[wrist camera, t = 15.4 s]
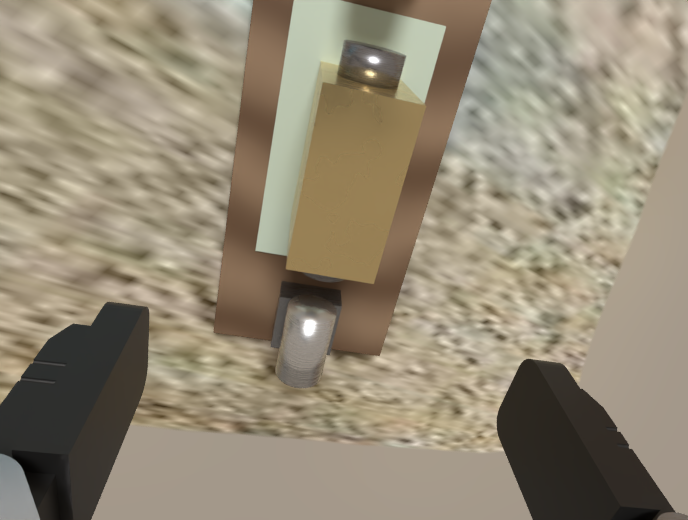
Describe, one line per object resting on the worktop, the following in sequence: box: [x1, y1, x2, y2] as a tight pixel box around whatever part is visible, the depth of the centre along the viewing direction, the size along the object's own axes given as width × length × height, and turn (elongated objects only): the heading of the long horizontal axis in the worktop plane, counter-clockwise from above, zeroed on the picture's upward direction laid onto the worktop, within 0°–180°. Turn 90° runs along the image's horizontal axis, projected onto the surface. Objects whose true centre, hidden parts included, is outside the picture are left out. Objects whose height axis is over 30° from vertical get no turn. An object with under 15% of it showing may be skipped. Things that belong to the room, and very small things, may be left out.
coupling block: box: [286, 40, 426, 284], centre depth 26 cm, size 12×4×7 cm, turn 167°
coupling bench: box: [214, 0, 492, 388], centre depth 28 cm, size 29×12×6 cm, turn 168°
